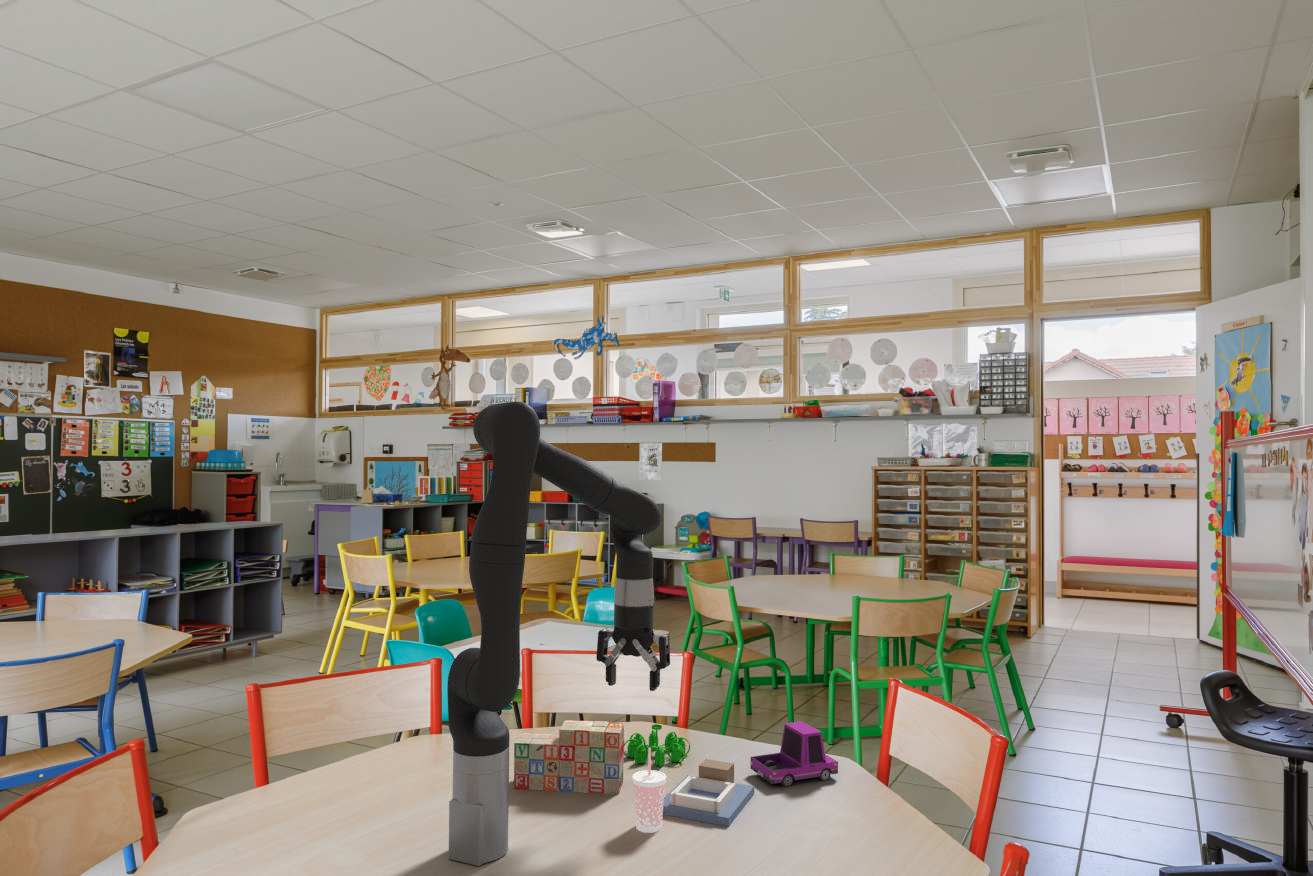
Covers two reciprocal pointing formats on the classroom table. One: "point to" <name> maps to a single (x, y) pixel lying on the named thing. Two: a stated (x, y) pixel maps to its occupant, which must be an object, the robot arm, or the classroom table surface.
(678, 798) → the blue square tray
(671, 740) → the chandelier
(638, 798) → the beverage cup
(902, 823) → the classroom table surface
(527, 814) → the classroom table surface
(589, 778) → the stack of blocks
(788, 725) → the toy truck
